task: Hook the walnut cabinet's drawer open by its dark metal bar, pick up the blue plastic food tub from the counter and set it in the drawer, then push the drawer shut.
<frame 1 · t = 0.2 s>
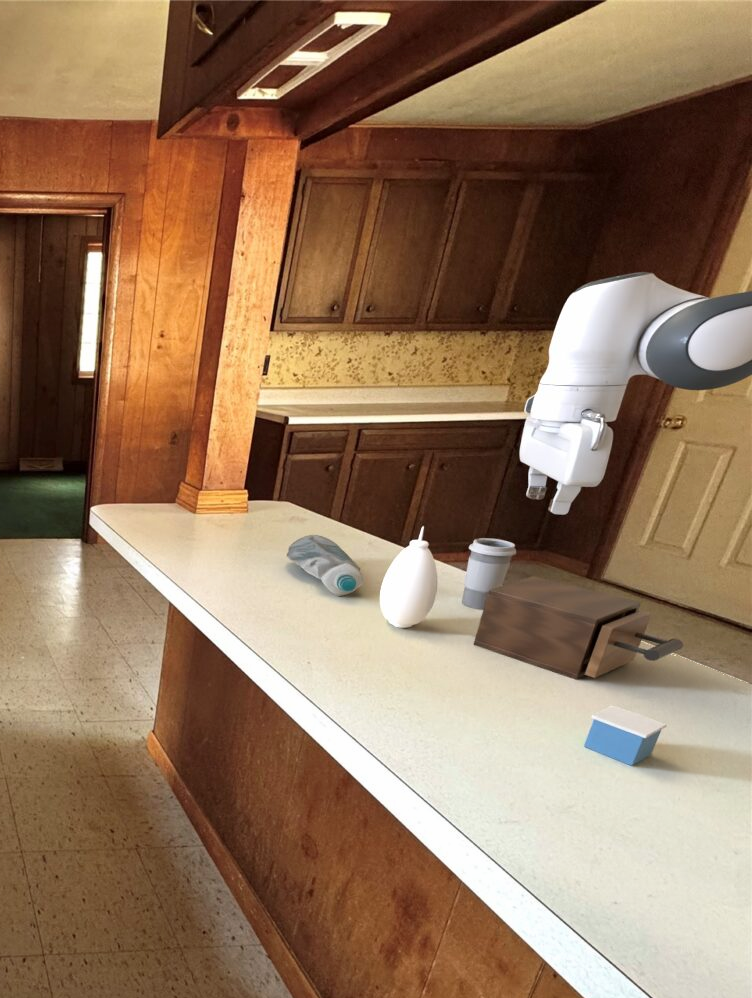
hand: (545, 505, 95), 24 cm above the countertop, tool pointing down, fingers open, 8 cm apart
plastic tub: (616, 750, 80), on the countertop
white air blower bulb: (399, 627, 115), on the countertop
cup: (476, 605, 122), on the countertop
drawer: (590, 635, 98), point 5 cm above the countertop, slide at 0.5 cm
cabinet: (544, 652, 104), on the countertop
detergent: (325, 582, 136), on the countertop
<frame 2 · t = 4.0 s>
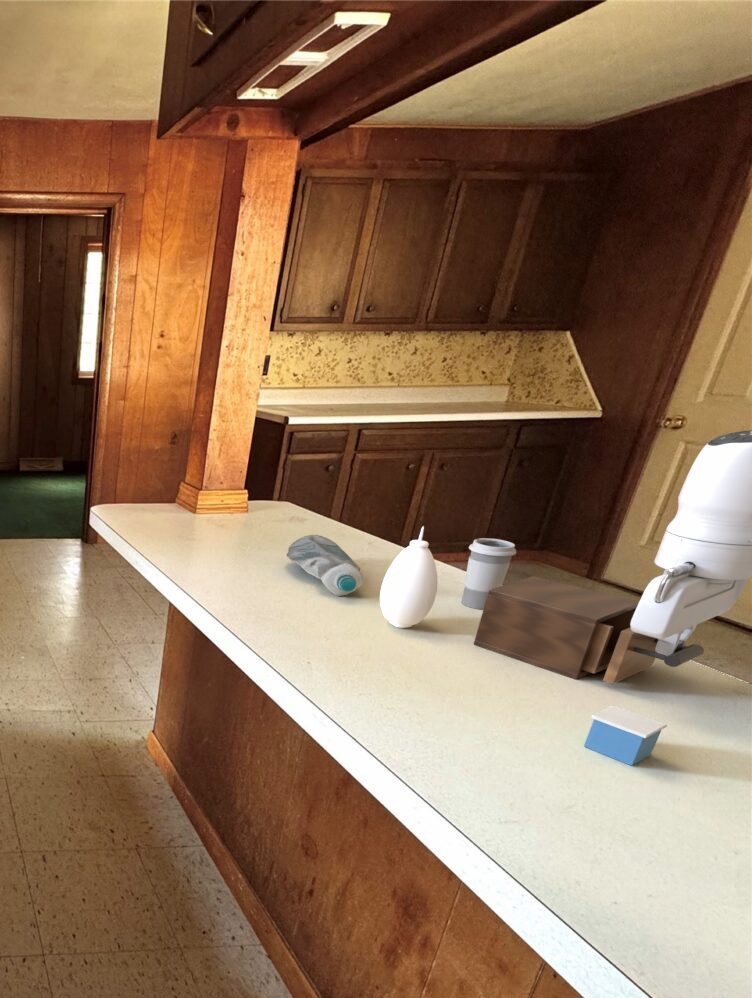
hand: (667, 652, 91), 6 cm above the countertop, tool pointing down, fingers closed
drawer: (608, 640, 97), point 5 cm above the countertop, slide at 2.6 cm, touching gripper
everything else where it was.
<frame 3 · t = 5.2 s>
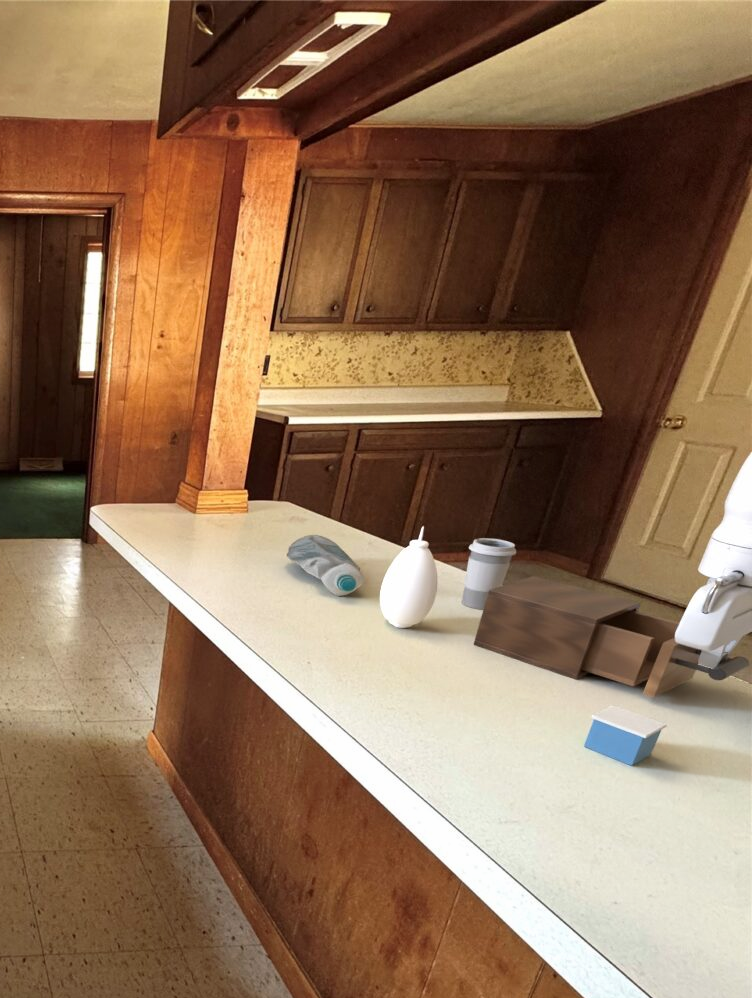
hand: (710, 663, 88), 6 cm above the countertop, tool pointing down, fingers closed
drawer: (647, 651, 93), point 5 cm above the countertop, slide at 6.9 cm
everything else where it was.
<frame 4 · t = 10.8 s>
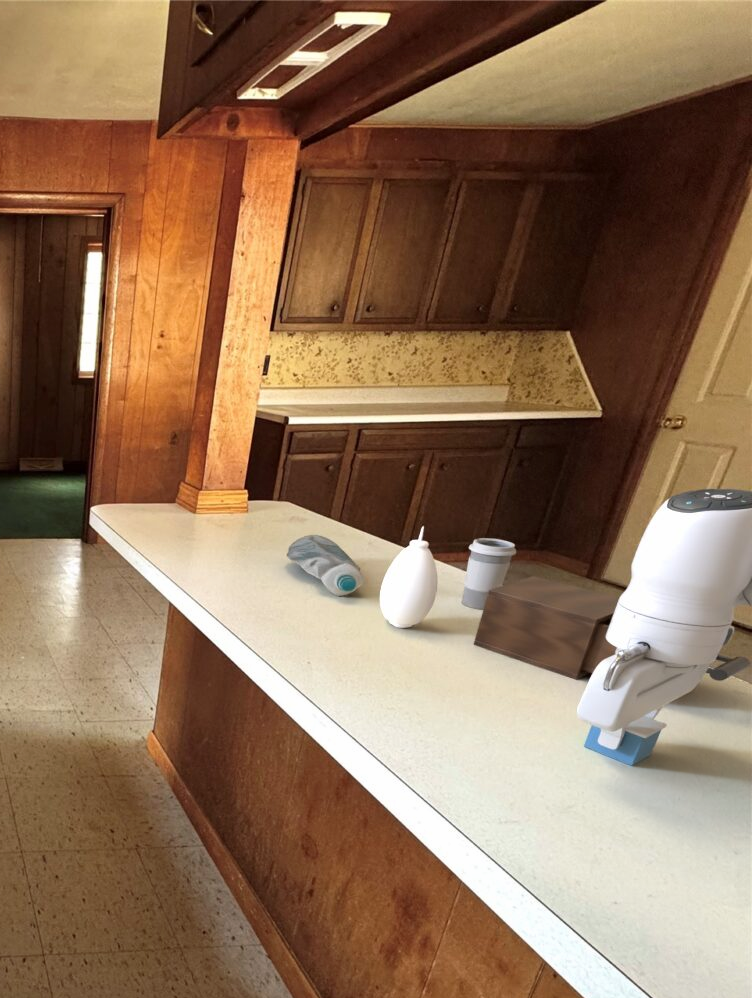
hand: (621, 738, 79), 2 cm above the countertop, tool pointing down, fingers closed on plastic tub, 4 cm apart
plastic tub: (616, 750, 80), on the countertop, touching gripper
everything else where it was.
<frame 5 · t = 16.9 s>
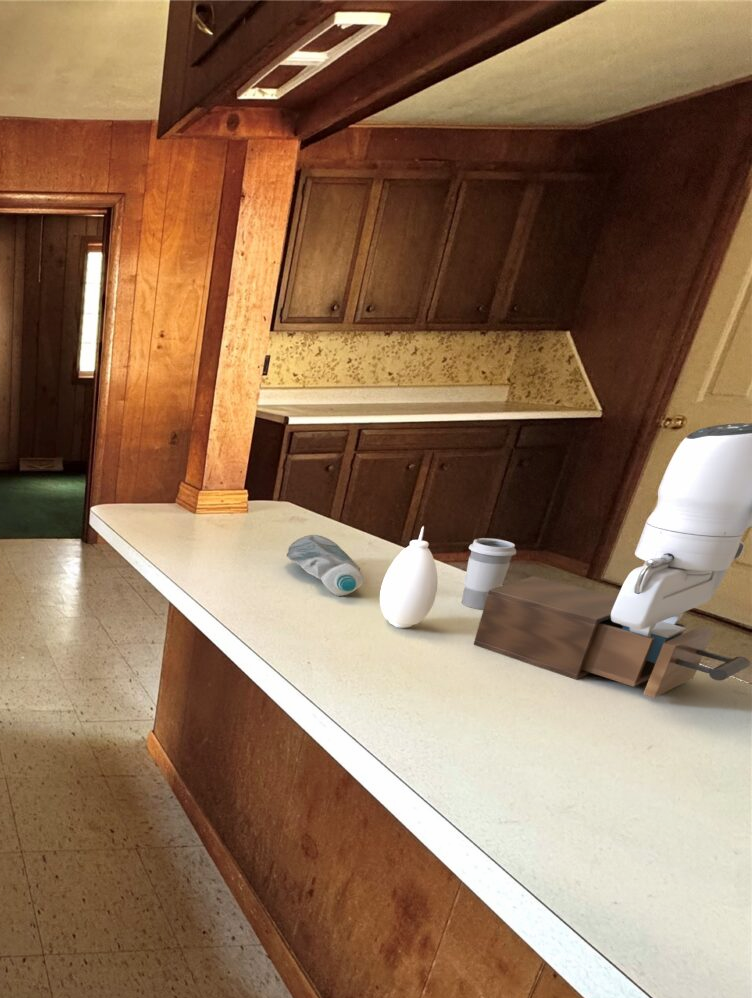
hand: (647, 642, 93), 6 cm above the countertop, tool pointing down, fingers closed on plastic tub, 4 cm apart
plastic tub: (642, 653, 93), point 4 cm above the countertop, touching gripper
drawer: (647, 651, 93), point 5 cm above the countertop, slide at 6.9 cm, touching gripper
everything else where it was.
when the fingers open (9 cm above the countertop, at t = 24.0 s): plastic tub drops 2 cm, resting on drawer.
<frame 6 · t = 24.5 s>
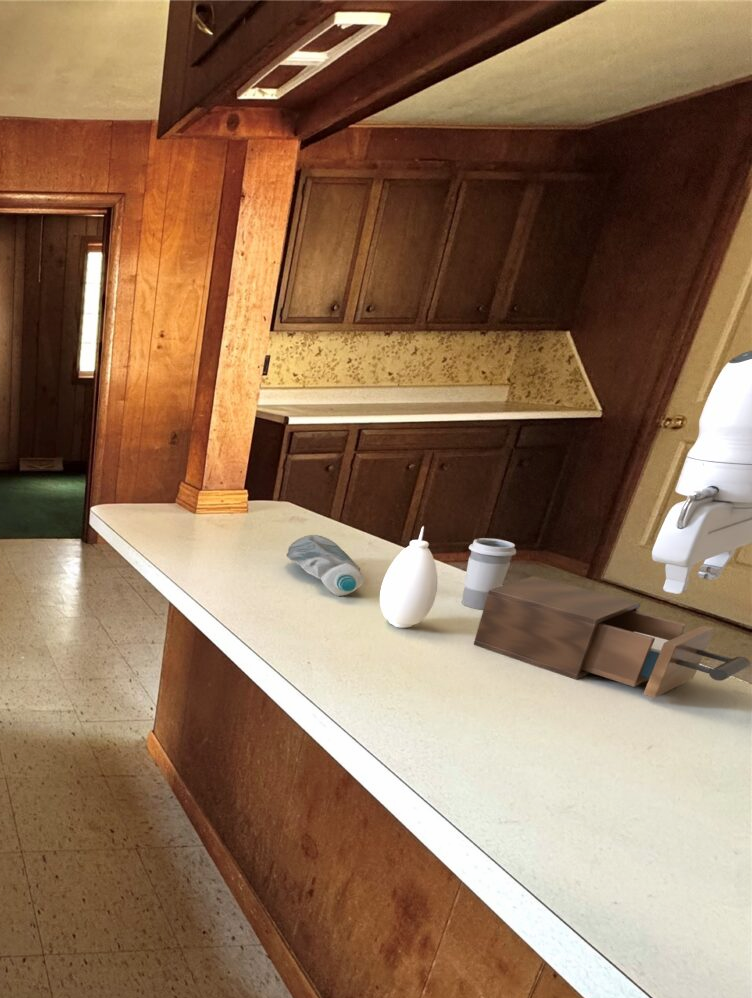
hand: (691, 584, 88), 15 cm above the countertop, tool pointing down, fingers open, 8 cm apart
plastic tub: (640, 669, 94), point 2 cm above the countertop, touching drawer
drawer: (647, 651, 93), point 5 cm above the countertop, slide at 7.0 cm, touching plastic tub
everything else where it was.
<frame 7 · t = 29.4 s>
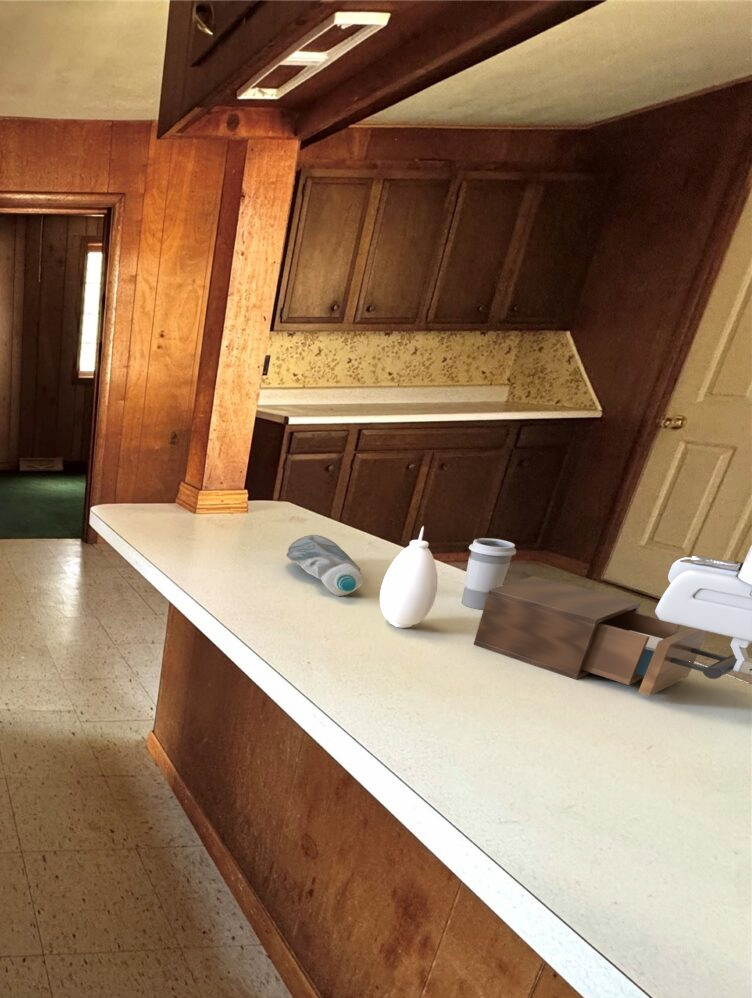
hand: (749, 674, 84), 6 cm above the countertop, tool pointing down, fingers closed
drawer: (642, 650, 93), point 5 cm above the countertop, slide at 6.4 cm, touching gripper, plastic tub
everything else where it was.
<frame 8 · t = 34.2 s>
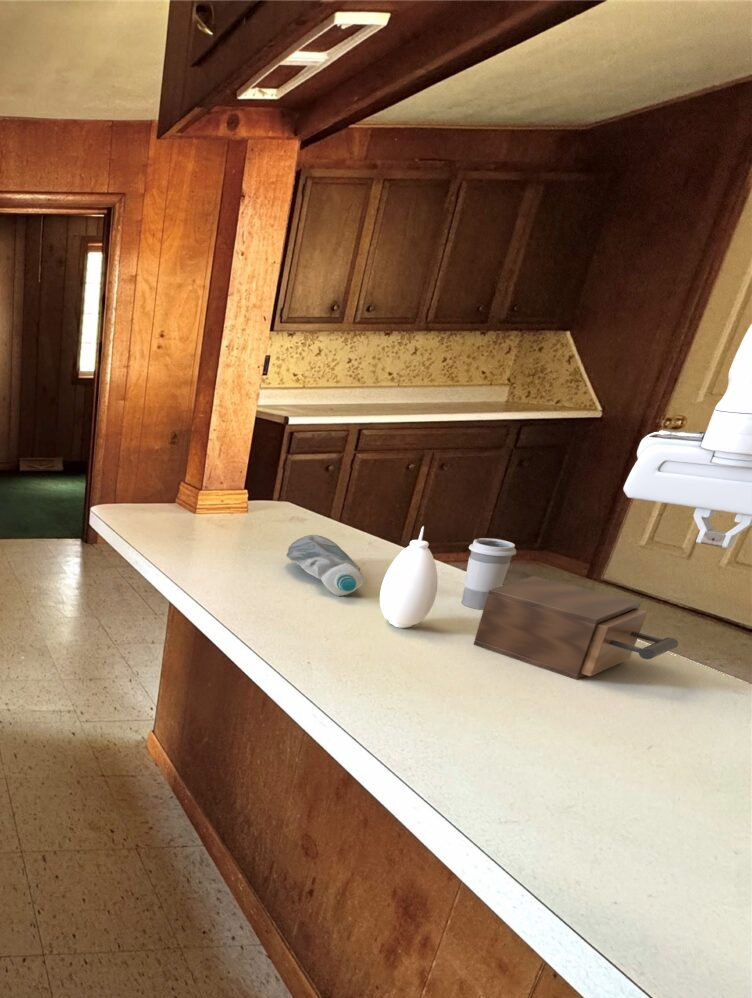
hand: (713, 545, 85), 21 cm above the countertop, tool pointing down, fingers closed
plastic tub: (579, 650, 100), point 2 cm above the countertop, touching drawer
drawer: (586, 634, 99), point 5 cm above the countertop, slide at 0.0 cm, touching cabinet, plastic tub
everything else where it was.
at the end: plastic tub inside the target area in the cabinet (4.0 cm from its centre), point 2.0 cm above the cabinet's base; drawer slide at 0.0 cm; the gripper is holding nothing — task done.
